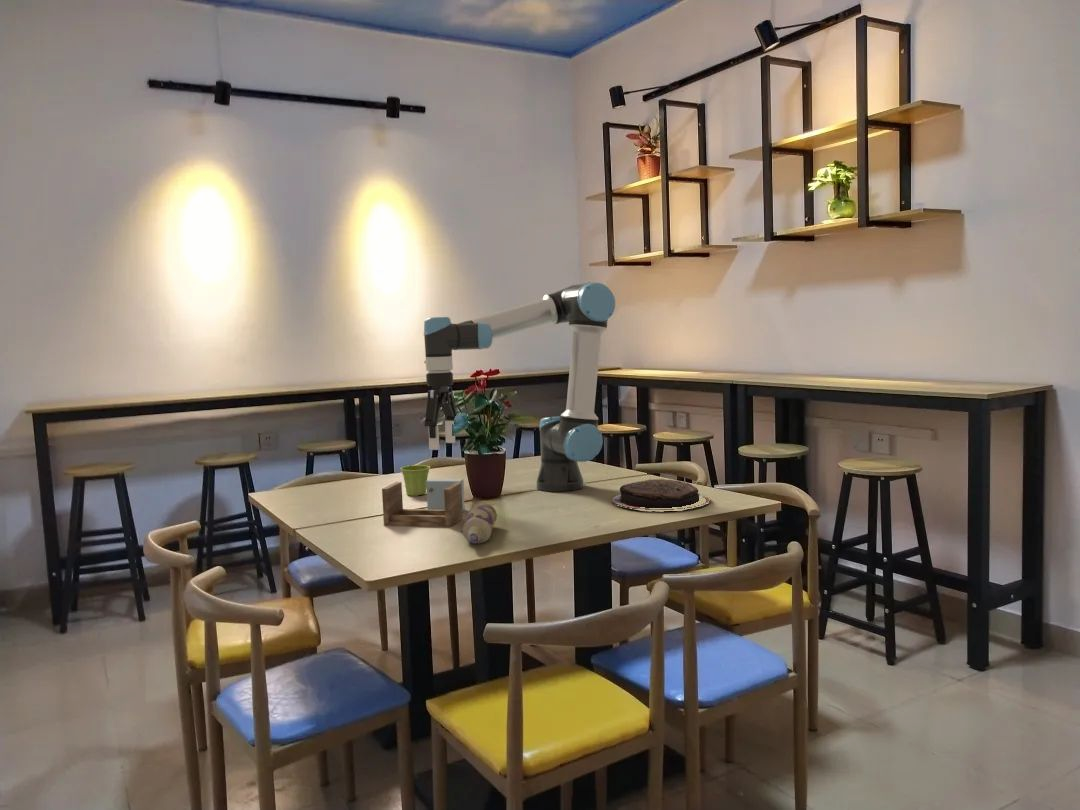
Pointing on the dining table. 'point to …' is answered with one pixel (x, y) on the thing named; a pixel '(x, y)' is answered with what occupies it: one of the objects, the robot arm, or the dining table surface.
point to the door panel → (440, 492)
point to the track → (421, 517)
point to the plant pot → (415, 479)
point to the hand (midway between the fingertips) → (442, 446)
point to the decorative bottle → (479, 523)
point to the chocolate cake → (658, 495)
